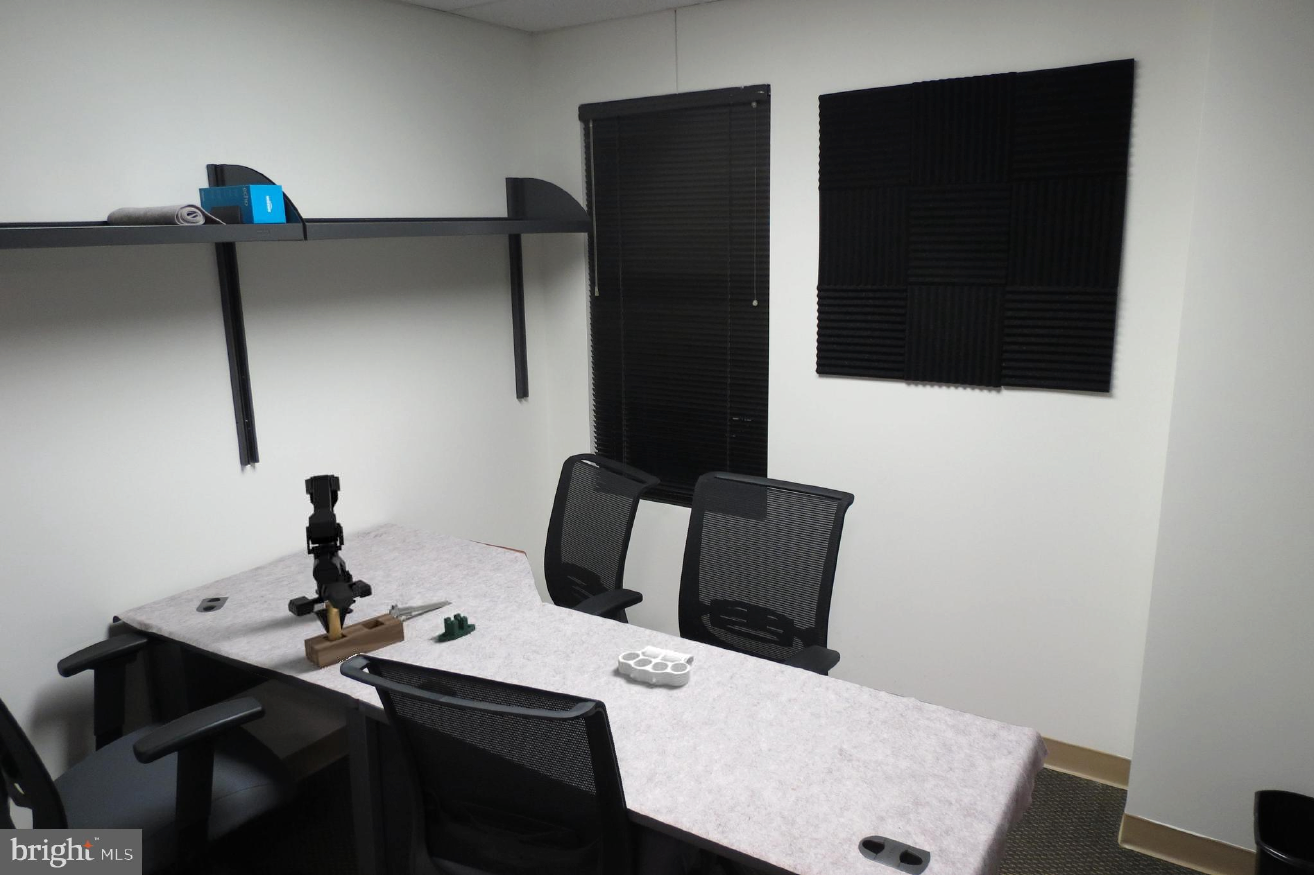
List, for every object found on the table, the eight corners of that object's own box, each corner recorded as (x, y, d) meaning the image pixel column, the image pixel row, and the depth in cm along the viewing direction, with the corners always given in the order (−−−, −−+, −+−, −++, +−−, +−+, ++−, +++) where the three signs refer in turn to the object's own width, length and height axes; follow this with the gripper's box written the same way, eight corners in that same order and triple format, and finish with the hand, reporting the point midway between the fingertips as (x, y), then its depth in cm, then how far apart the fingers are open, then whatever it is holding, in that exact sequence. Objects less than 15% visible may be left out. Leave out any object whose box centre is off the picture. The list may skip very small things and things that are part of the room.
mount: (443, 645, 225) (442, 626, 224) (433, 640, 228) (432, 621, 227) (479, 631, 233) (478, 613, 232) (469, 626, 236) (468, 608, 235)
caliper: (391, 629, 235) (389, 607, 234) (389, 628, 236) (387, 606, 235) (452, 604, 251) (450, 582, 250) (449, 603, 252) (447, 582, 250)
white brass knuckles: (705, 667, 210) (677, 695, 198) (639, 652, 219) (607, 678, 206) (705, 654, 209) (676, 681, 197) (639, 640, 218) (607, 664, 206)
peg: (326, 638, 219) (322, 603, 217) (338, 634, 221) (334, 600, 219) (331, 642, 217) (328, 607, 215) (343, 638, 219) (340, 603, 217)
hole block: (306, 659, 219) (304, 639, 218) (389, 631, 234) (387, 613, 233) (320, 669, 213) (318, 650, 212) (404, 640, 228) (402, 621, 227)
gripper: (303, 589, 204) (310, 653, 207) (379, 568, 216) (385, 628, 219) (283, 577, 211) (291, 639, 215) (358, 557, 224) (364, 615, 227)
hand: (334, 630), depth 219 cm, fingers closed on peg, 3 cm apart
